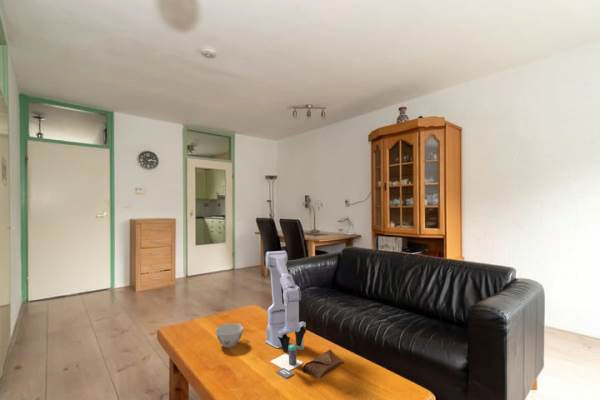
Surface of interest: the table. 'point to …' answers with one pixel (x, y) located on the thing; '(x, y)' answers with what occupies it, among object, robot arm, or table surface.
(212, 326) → the table surface
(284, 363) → the paper
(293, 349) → the marker
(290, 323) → the robot arm
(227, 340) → the teacup
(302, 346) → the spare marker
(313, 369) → the sunglasses case
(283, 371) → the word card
